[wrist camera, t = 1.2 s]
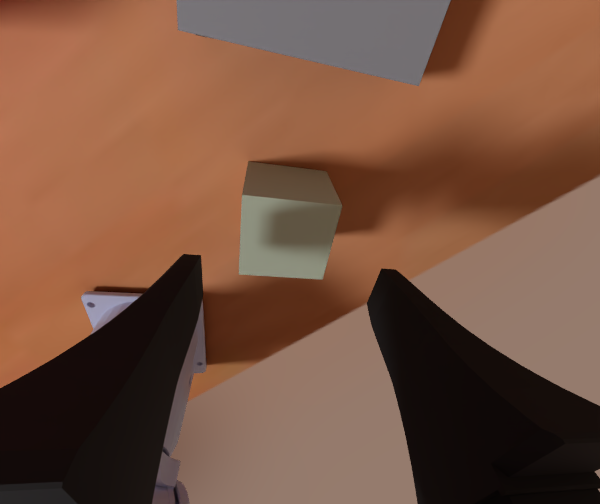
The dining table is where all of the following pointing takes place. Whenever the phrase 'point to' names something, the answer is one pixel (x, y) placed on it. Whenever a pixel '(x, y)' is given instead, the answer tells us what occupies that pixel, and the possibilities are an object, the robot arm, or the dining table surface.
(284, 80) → the dining table surface
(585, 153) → the dining table surface
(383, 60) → the slate top slab
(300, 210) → the sage cube
